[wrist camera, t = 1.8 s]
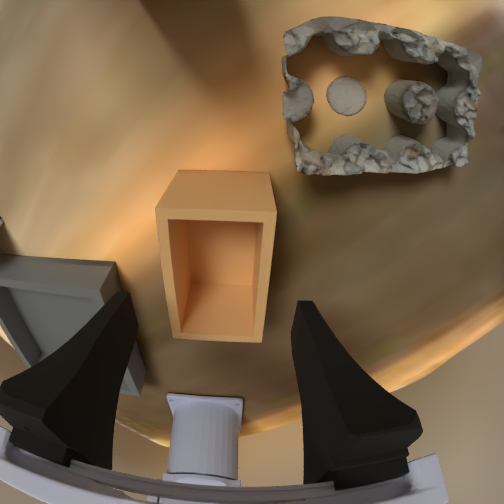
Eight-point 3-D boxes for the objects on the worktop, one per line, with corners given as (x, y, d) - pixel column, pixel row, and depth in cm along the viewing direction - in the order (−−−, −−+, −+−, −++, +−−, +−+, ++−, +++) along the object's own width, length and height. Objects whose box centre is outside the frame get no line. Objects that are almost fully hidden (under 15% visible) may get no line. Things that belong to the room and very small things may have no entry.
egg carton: (279, 155, 16) (287, 181, 13) (276, 23, 12) (284, 8, 9) (442, 163, 16) (478, 188, 13) (451, 51, 12) (494, 54, 9)
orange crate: (258, 286, 21) (261, 342, 17) (185, 282, 21) (173, 338, 17) (268, 172, 17) (277, 212, 12) (178, 169, 16) (155, 207, 12)
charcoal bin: (146, 371, 27) (140, 396, 24) (41, 352, 26) (31, 372, 24) (114, 261, 20) (99, 289, 17) (-8, 253, 19) (-26, 274, 17)
